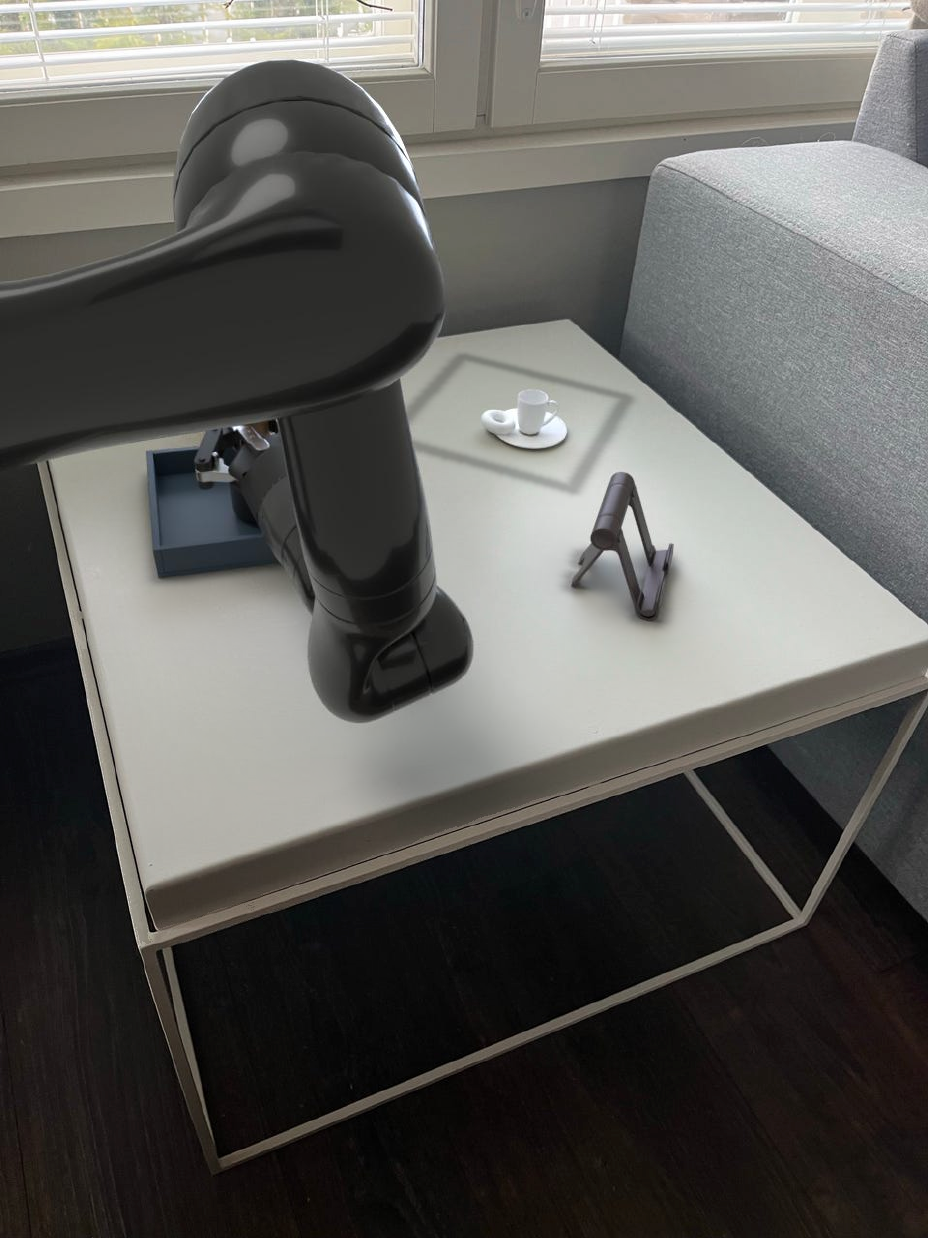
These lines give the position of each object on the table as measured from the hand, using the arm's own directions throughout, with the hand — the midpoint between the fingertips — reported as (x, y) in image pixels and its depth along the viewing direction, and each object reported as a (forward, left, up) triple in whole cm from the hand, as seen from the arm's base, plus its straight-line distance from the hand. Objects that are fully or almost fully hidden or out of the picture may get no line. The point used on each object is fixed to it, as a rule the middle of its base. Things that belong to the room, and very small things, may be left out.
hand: (244, 403), depth 85 cm
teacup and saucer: (+28, +9, -10) cm, 32 cm away
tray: (0, -3, -10) cm, 10 cm away
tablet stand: (+29, -19, -10) cm, 36 cm away
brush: (+1, -3, -9) cm, 9 cm away
